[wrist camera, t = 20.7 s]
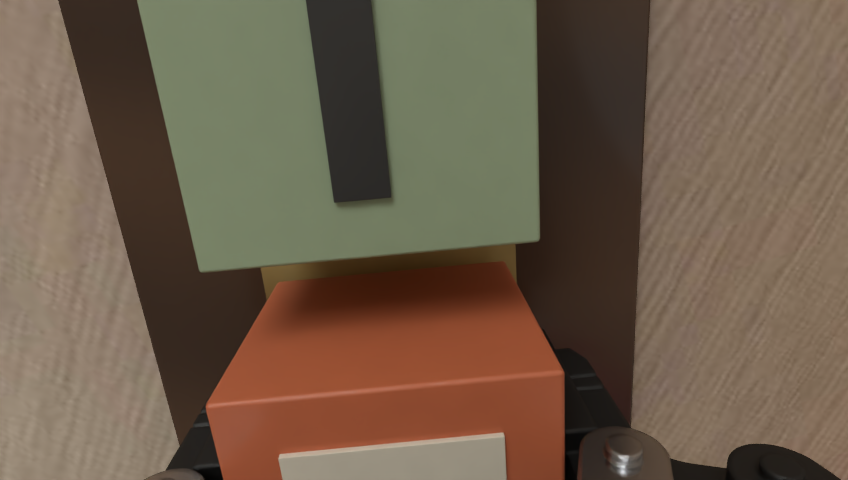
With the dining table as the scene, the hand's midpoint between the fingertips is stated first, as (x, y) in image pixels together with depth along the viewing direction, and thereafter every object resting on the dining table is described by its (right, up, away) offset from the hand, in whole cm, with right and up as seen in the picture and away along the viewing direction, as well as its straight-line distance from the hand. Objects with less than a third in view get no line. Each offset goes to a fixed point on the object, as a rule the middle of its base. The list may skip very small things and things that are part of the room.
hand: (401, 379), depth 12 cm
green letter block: (-1, +7, -1) cm, 7 cm away
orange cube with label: (0, 0, 0) cm, 0 cm away
